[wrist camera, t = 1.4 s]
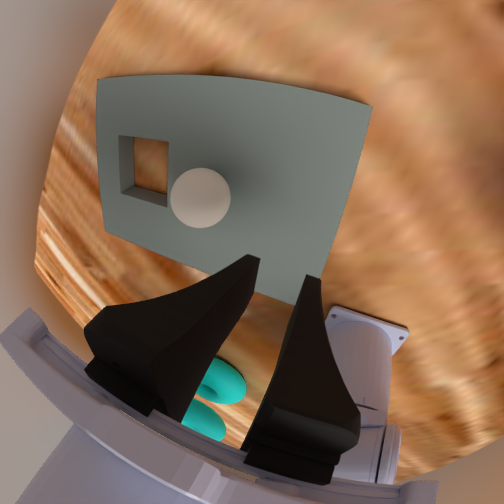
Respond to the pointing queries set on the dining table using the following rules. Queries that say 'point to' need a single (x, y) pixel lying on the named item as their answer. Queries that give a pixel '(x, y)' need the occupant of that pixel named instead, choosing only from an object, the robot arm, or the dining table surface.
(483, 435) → the dining table surface
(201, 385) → the donuts
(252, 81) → the plate
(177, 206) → the ball
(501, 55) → the dining table surface
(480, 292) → the dining table surface
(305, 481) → the robot arm
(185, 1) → the dining table surface
